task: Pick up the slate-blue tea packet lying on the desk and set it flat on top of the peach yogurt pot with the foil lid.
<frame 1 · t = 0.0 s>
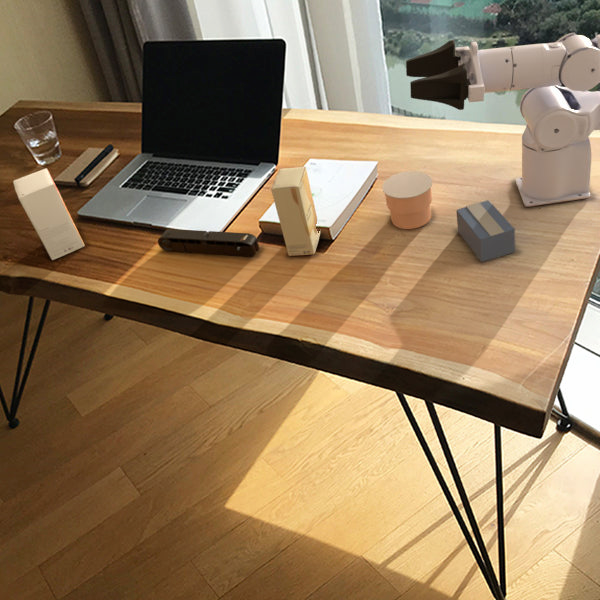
hand: (408, 78, 95), 22 cm above the table, tool horizontal, fingers open, 7 cm apart
cosmetic box: (305, 245, 108), on the table
small box: (65, 245, 124), on the table
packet: (485, 241, 99), on the table
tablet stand: (210, 250, 112), on the table
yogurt: (411, 217, 107), on the table
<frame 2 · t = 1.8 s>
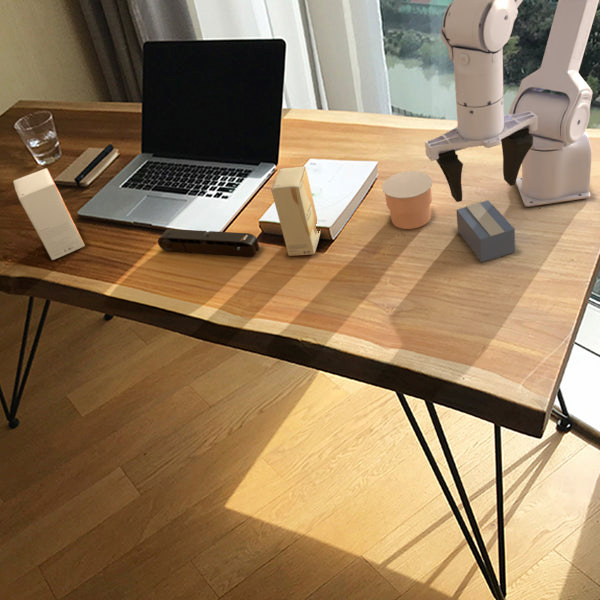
hand: (483, 190, 93), 9 cm above the table, tool pointing down, fingers open, 7 cm apart
nothing on the table moved.
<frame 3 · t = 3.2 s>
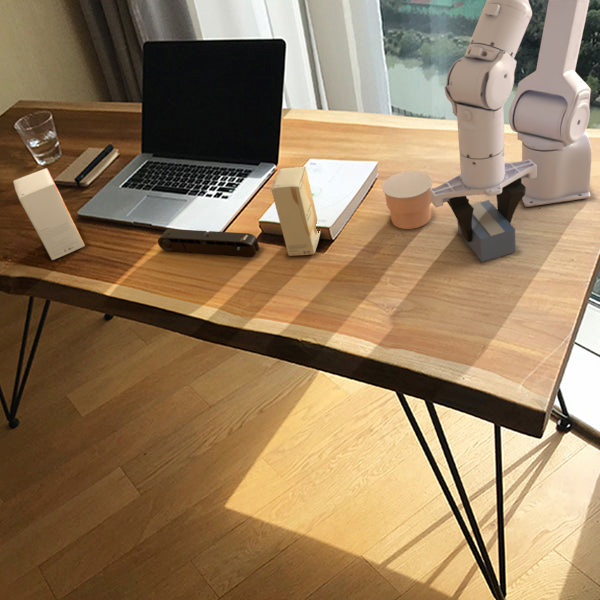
hand: (485, 232, 98), 2 cm above the table, tool pointing down, fingers closed on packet, 5 cm apart
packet: (485, 241, 99), on the table, touching gripper
everything else where it was.
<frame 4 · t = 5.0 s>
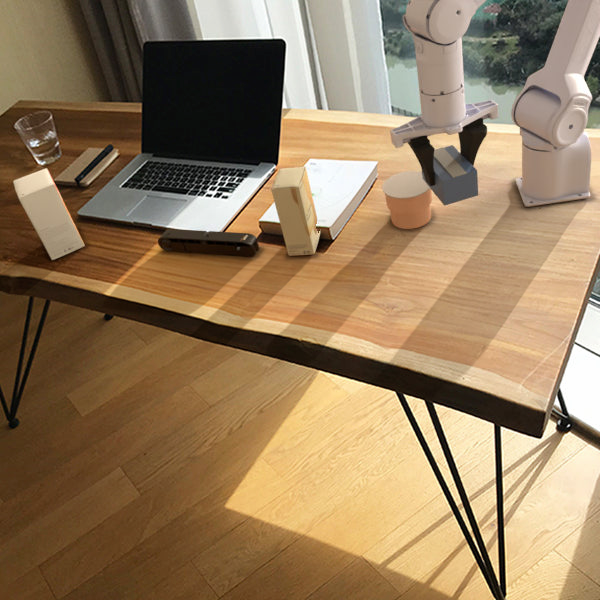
hand: (448, 177, 96), 9 cm above the table, tool pointing down, fingers closed on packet, 5 cm apart
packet: (449, 186, 97), point 8 cm above the table, touching gripper
everything else where it was.
when the fingers open (8 cm above the table, at t = 6.7 s): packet stays where it is, resting on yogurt.
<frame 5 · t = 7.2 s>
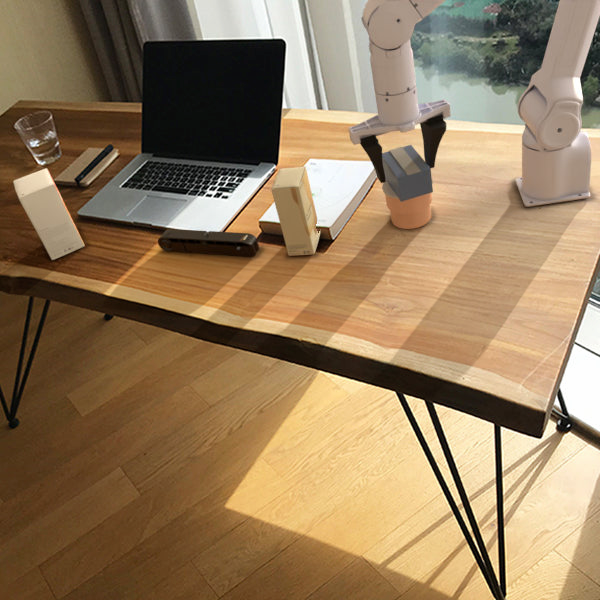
hand: (405, 172, 102), 8 cm above the table, tool pointing down, fingers open, 7 cm apart
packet: (407, 184, 103), point 6 cm above the table, touching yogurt
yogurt: (411, 217, 107), on the table, touching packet
everything else where it was.
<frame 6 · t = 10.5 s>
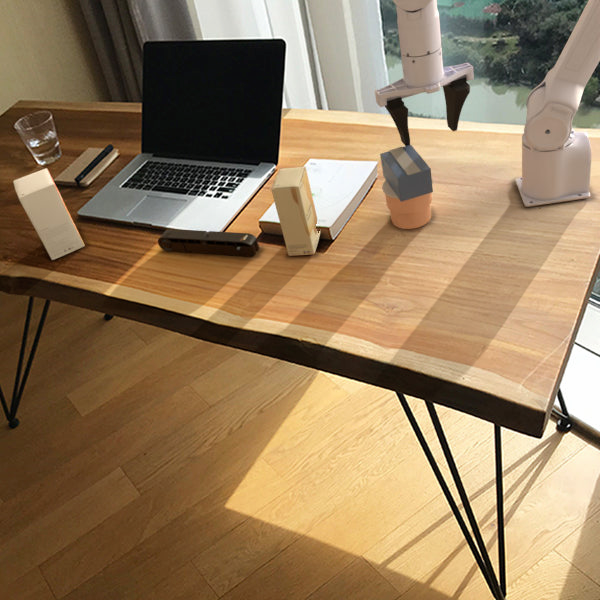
hand: (429, 135, 105), 10 cm above the table, tool pointing down, fingers open, 7 cm apart
nothing on the table moved.
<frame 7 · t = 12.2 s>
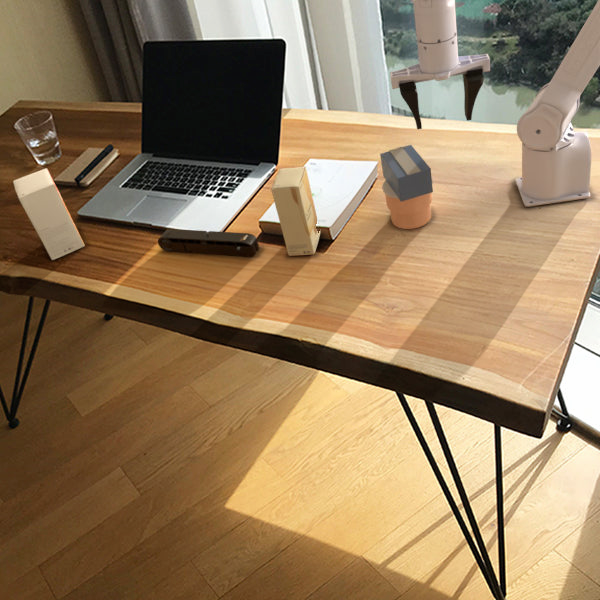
hand: (443, 122, 107), 10 cm above the table, tool pointing down, fingers open, 7 cm apart
nothing on the table moved.
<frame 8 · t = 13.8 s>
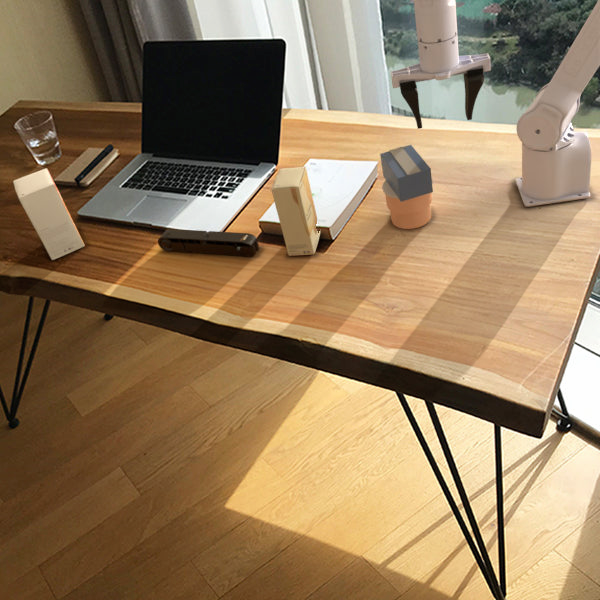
hand: (444, 121, 107), 10 cm above the table, tool pointing down, fingers open, 7 cm apart
nothing on the table moved.
at the end: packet 0.0 cm off-centre on the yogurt, point 6.2 cm above the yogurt's base; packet touching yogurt; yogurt tilted 0° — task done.
